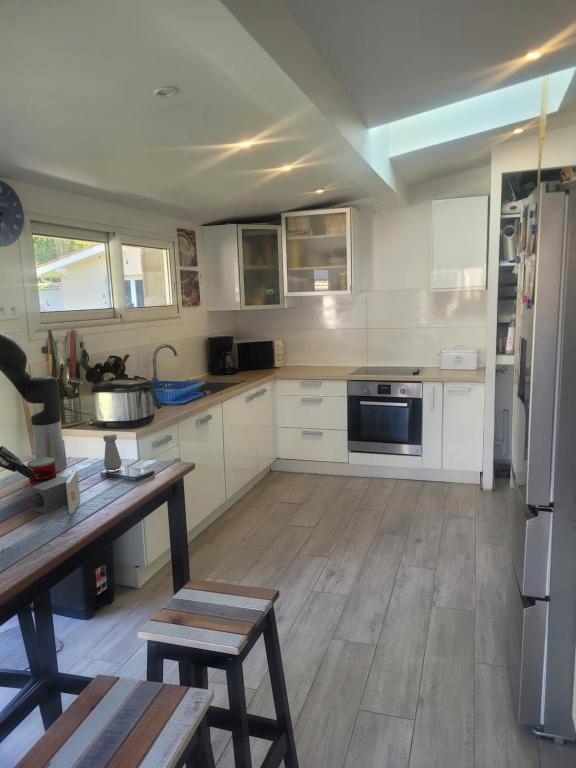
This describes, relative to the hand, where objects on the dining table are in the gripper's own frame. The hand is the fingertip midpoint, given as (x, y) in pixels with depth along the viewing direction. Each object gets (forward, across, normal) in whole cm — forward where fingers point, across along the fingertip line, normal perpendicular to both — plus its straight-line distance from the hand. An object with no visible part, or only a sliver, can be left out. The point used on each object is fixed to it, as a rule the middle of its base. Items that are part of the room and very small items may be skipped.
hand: (31, 474), depth 151 cm
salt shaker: (+29, +31, -10) cm, 43 cm away
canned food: (+12, +20, +7) cm, 24 cm away
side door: (+17, +3, +1) cm, 17 cm away
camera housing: (+13, +8, +5) cm, 16 cm away
